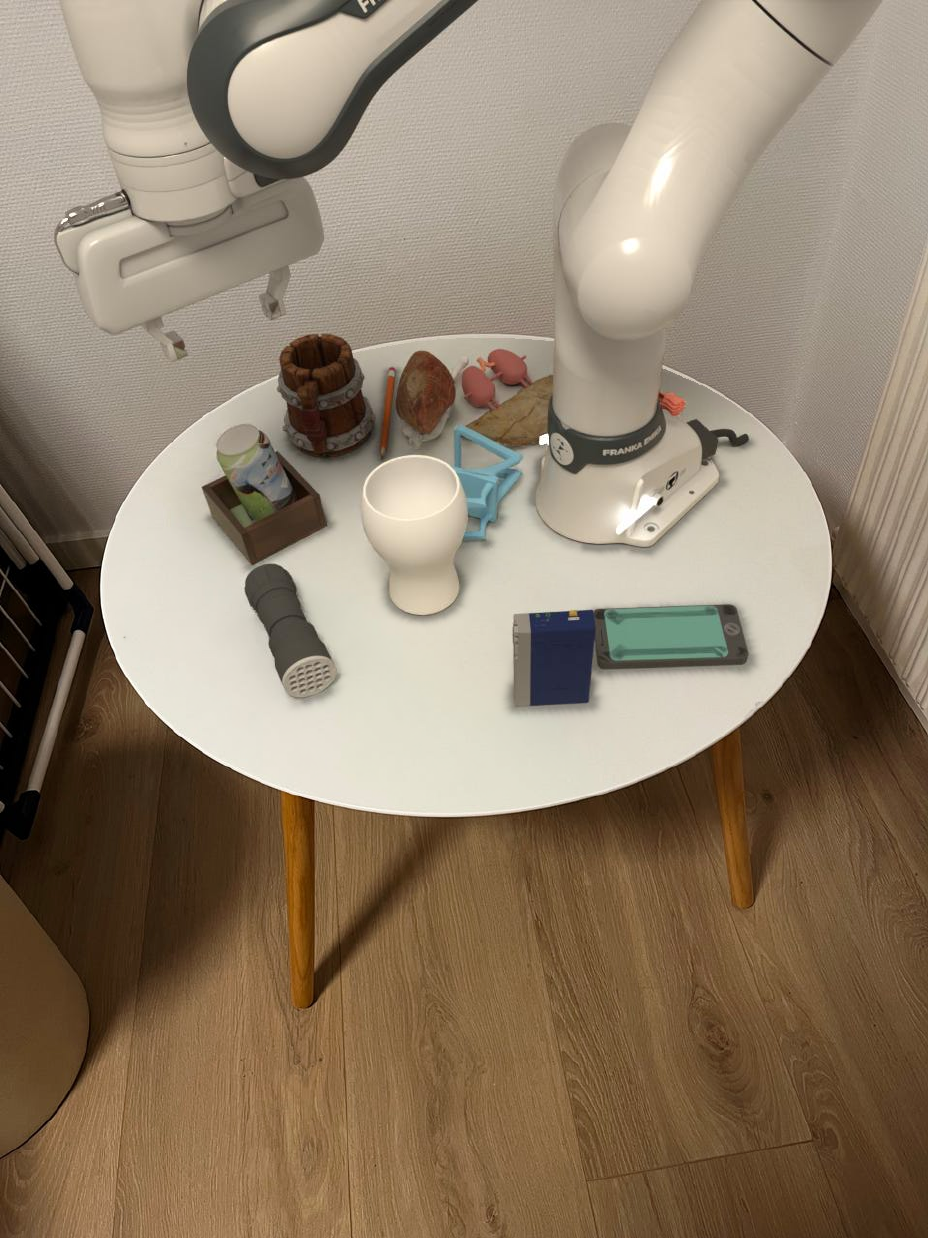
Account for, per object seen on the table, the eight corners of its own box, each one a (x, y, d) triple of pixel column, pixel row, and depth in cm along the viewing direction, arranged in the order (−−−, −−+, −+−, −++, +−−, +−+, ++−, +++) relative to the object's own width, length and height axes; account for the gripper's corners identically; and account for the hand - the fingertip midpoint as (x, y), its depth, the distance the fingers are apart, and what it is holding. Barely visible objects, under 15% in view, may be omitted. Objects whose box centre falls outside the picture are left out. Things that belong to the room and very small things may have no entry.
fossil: (644, 398, 117) (642, 409, 118) (566, 359, 123) (565, 369, 124) (533, 475, 107) (533, 485, 108) (455, 427, 113) (456, 438, 115)
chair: (520, 488, 110) (488, 557, 103) (456, 472, 111) (420, 539, 104) (524, 439, 103) (490, 510, 97) (456, 423, 105) (418, 491, 98)
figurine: (468, 356, 120) (442, 434, 108) (471, 382, 123) (446, 461, 111) (417, 356, 122) (386, 434, 110) (421, 382, 125) (391, 460, 113)
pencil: (389, 372, 125) (395, 372, 125) (378, 461, 113) (385, 461, 113) (388, 366, 125) (395, 366, 125) (378, 456, 113) (385, 456, 113)
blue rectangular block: (586, 683, 90) (593, 606, 81) (589, 703, 89) (597, 626, 79) (512, 687, 90) (511, 611, 81) (514, 707, 89) (513, 631, 80)
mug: (381, 395, 121) (364, 307, 108) (373, 480, 114) (354, 397, 101) (295, 397, 122) (268, 310, 109) (282, 481, 115) (251, 399, 102)
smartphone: (750, 657, 90) (599, 662, 90) (747, 664, 91) (598, 669, 91) (735, 601, 94) (592, 606, 95) (733, 608, 95) (591, 613, 96)
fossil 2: (441, 343, 116) (485, 407, 116) (392, 383, 119) (435, 446, 119) (411, 334, 104) (460, 405, 104) (357, 379, 107) (405, 449, 107)
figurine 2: (538, 385, 124) (504, 347, 124) (547, 371, 121) (512, 332, 121) (477, 428, 119) (442, 388, 119) (485, 414, 116) (449, 373, 116)
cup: (456, 634, 95) (446, 533, 83) (362, 615, 97) (340, 514, 86) (484, 562, 101) (479, 459, 90) (395, 546, 104) (379, 443, 92)
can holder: (285, 481, 112) (277, 450, 108) (327, 525, 107) (319, 494, 103) (212, 517, 108) (201, 486, 105) (251, 565, 103) (241, 534, 99)
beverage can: (304, 525, 106) (283, 445, 97) (242, 540, 105) (215, 460, 95) (295, 490, 110) (274, 410, 100) (235, 505, 109) (208, 425, 99)
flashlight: (246, 601, 100) (234, 568, 95) (292, 584, 101) (282, 551, 97) (289, 704, 90) (278, 672, 86) (340, 684, 92) (331, 651, 88)
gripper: (60, 235, 62) (128, 401, 72) (317, 143, 69) (345, 307, 79) (29, 202, 65) (99, 365, 76) (277, 118, 72) (309, 278, 83)
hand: (226, 335), depth 78 cm, fingers open, 8 cm apart
